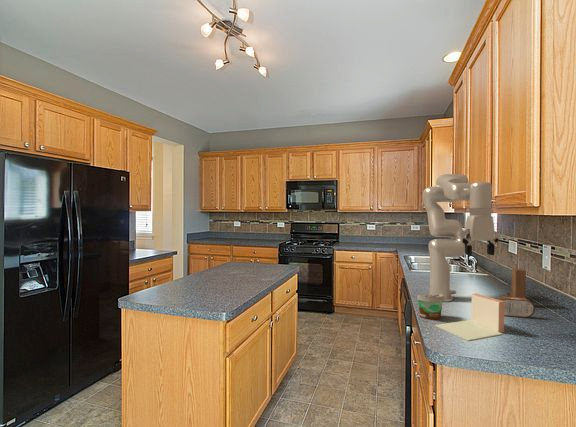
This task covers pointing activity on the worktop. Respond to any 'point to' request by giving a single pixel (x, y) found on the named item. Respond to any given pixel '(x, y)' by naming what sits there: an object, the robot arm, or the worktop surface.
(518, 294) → the wooden block
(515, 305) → the tin
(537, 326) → the worktop surface
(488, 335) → the mat
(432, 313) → the food container
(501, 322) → the tile
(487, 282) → the worktop surface
